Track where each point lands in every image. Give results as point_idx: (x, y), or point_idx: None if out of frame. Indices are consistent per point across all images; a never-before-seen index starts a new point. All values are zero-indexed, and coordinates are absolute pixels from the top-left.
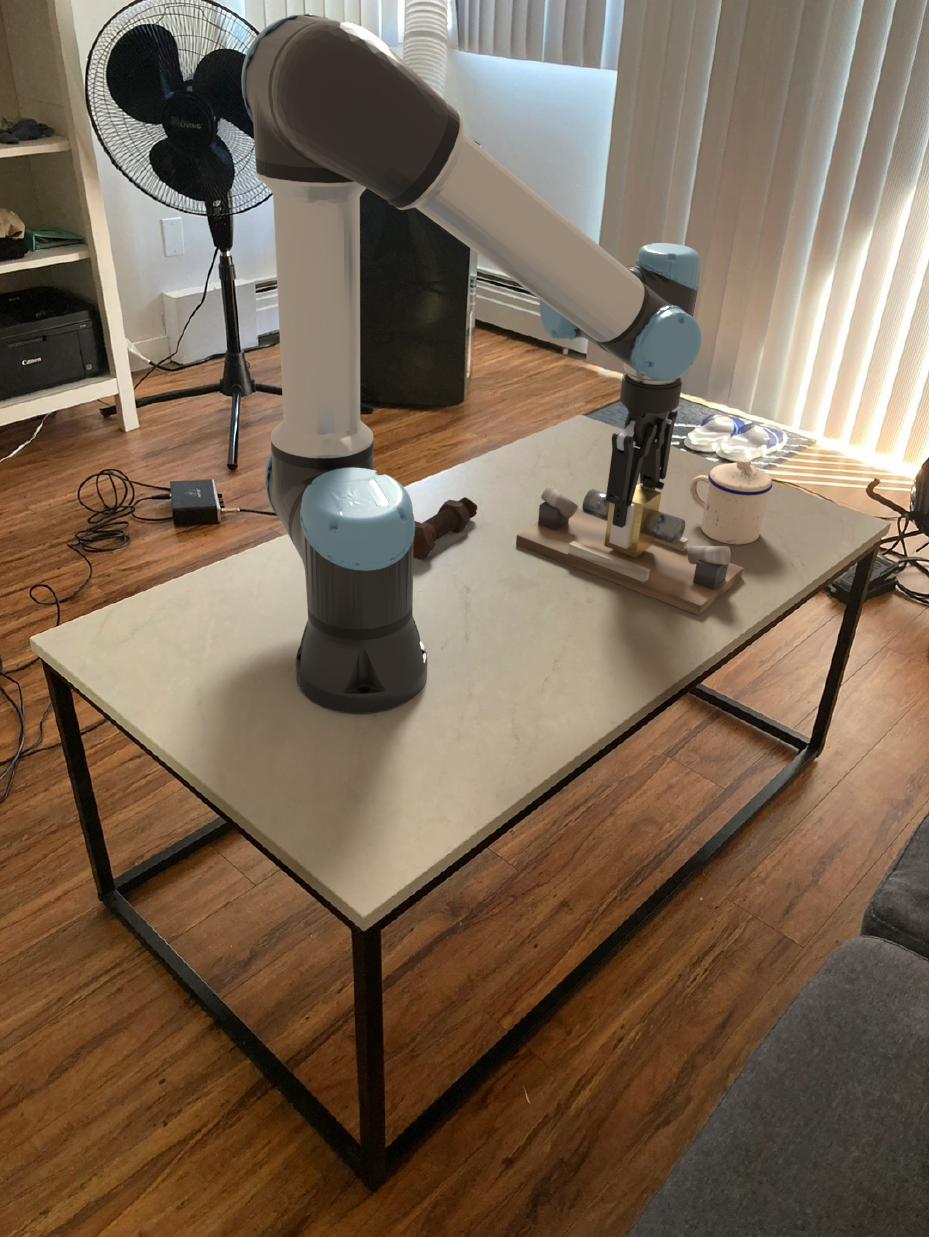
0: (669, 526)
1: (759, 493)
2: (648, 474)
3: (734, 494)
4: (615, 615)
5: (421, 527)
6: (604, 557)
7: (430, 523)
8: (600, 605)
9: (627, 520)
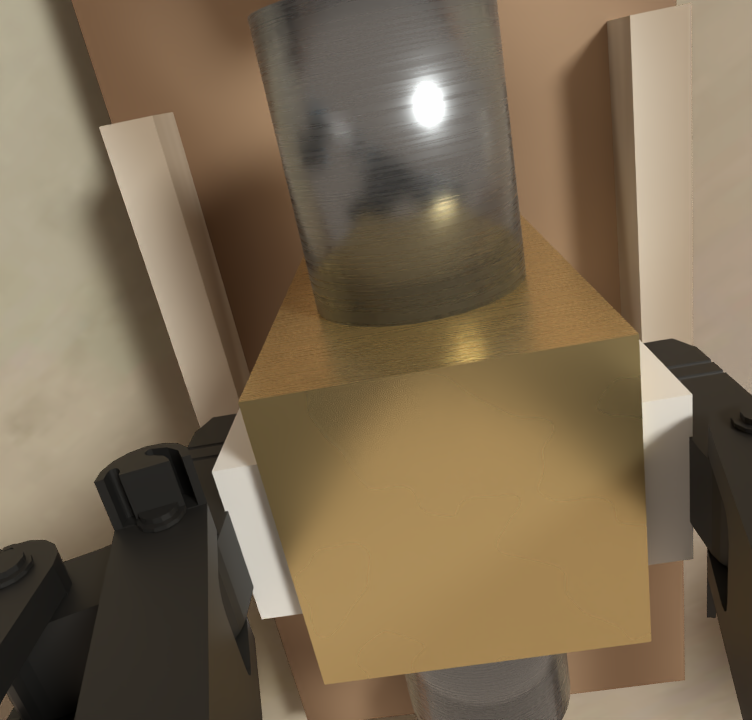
0: (424, 707)
1: None
2: (736, 602)
3: None
4: (54, 538)
5: None
6: (180, 366)
7: None
8: (46, 466)
9: None
